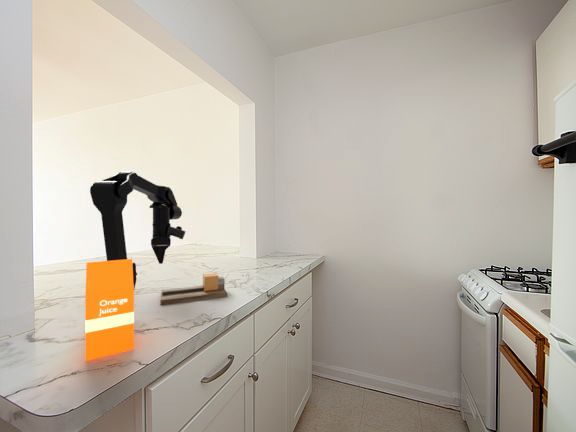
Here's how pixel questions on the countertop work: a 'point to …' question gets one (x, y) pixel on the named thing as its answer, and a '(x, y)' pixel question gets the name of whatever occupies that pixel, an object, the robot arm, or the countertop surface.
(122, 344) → the orange juice
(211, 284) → the block
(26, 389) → the countertop surface
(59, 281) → the countertop surface
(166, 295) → the track
